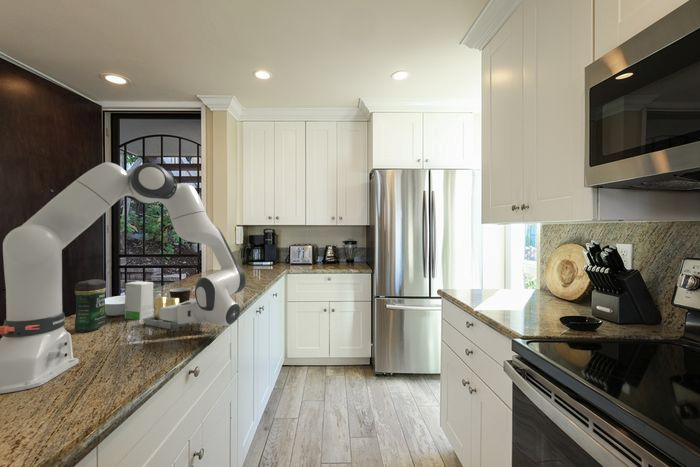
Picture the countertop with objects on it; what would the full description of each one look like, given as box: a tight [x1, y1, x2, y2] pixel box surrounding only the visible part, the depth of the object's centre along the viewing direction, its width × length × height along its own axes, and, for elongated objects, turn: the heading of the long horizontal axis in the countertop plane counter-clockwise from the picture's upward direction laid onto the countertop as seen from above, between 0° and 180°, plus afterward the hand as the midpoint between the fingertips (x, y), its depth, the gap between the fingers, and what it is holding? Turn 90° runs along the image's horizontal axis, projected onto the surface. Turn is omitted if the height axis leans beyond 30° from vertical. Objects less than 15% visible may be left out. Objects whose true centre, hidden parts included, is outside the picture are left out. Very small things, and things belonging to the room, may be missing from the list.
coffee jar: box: [74, 278, 107, 333], centre depth 127 cm, size 10×8×19 cm
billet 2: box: [166, 297, 180, 323], centre depth 127 cm, size 4×4×10 cm
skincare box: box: [124, 280, 154, 320], centre depth 139 cm, size 8×7×16 cm
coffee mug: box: [169, 287, 192, 303], centre depth 151 cm, size 12×9×10 cm
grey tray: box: [144, 316, 190, 330], centre depth 128 cm, size 15×8×3 cm, turn 65°
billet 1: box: [153, 295, 168, 321], centre depth 130 cm, size 4×4×10 cm
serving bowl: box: [105, 294, 125, 317], centre depth 149 cm, size 21×21×7 cm
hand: (174, 305), depth 127 cm, fingers open, 8 cm apart
